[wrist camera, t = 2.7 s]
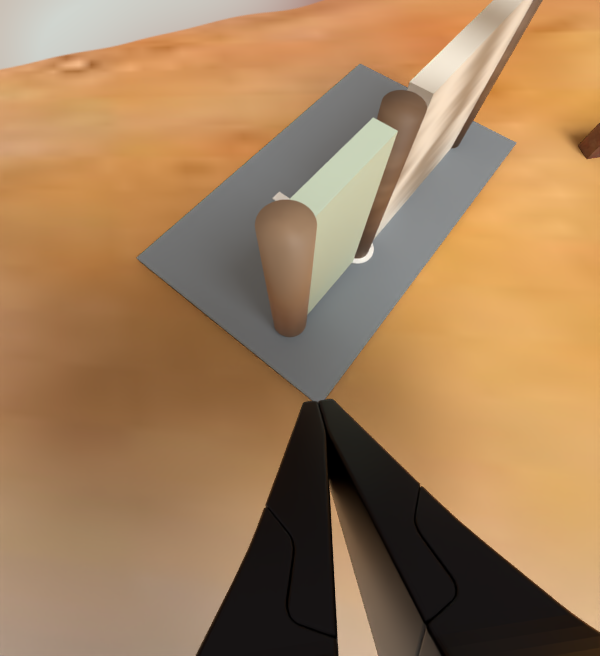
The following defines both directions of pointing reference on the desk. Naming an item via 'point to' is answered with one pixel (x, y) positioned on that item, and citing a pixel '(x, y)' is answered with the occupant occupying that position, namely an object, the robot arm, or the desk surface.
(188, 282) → the card
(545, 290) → the desk surface
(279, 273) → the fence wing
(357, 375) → the desk surface
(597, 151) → the miniature gate
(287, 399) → the desk surface
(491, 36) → the fence section
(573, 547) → the desk surface
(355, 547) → the robot arm
